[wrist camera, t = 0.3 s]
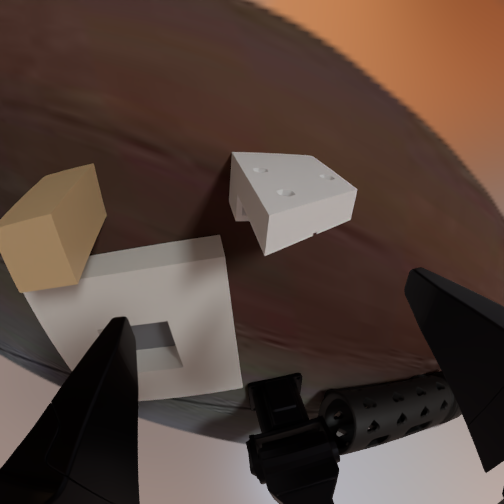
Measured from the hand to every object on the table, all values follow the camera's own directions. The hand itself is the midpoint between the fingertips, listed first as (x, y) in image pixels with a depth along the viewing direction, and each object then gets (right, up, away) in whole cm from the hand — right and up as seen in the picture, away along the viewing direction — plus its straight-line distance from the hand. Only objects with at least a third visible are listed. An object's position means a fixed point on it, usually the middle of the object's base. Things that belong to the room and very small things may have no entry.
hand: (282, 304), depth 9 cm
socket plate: (-11, -5, +18) cm, 21 cm away
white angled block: (0, +7, +13) cm, 15 cm away
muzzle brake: (+22, -19, +35) cm, 45 cm away
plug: (-13, +5, +10) cm, 18 cm away
